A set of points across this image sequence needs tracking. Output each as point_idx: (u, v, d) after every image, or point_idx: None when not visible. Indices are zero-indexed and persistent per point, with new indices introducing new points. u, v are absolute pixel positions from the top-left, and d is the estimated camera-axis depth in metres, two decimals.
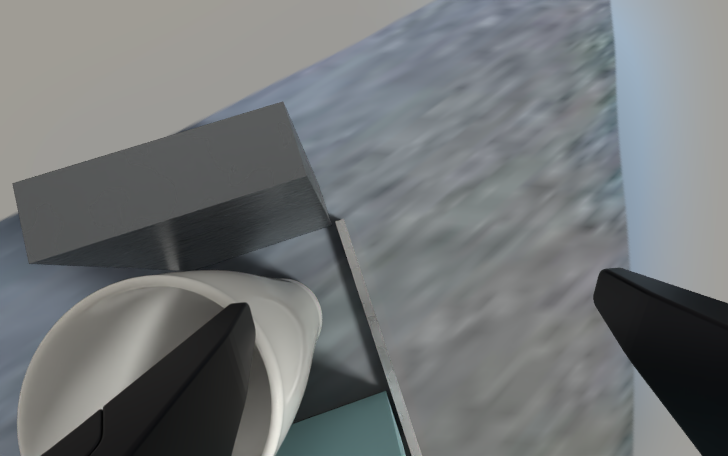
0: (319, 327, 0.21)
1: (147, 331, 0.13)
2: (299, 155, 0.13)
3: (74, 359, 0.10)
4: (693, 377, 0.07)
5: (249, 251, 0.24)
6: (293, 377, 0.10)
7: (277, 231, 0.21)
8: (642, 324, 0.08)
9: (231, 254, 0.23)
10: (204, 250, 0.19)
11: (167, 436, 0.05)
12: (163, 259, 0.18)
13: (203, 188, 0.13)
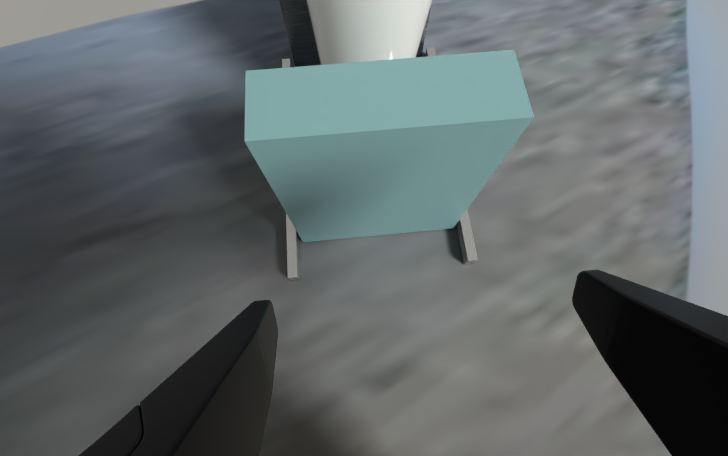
0: None
1: None
2: None
3: None
4: (665, 379, 0.07)
5: None
6: None
7: None
8: (617, 326, 0.08)
9: None
10: None
11: (205, 432, 0.05)
12: None
13: None
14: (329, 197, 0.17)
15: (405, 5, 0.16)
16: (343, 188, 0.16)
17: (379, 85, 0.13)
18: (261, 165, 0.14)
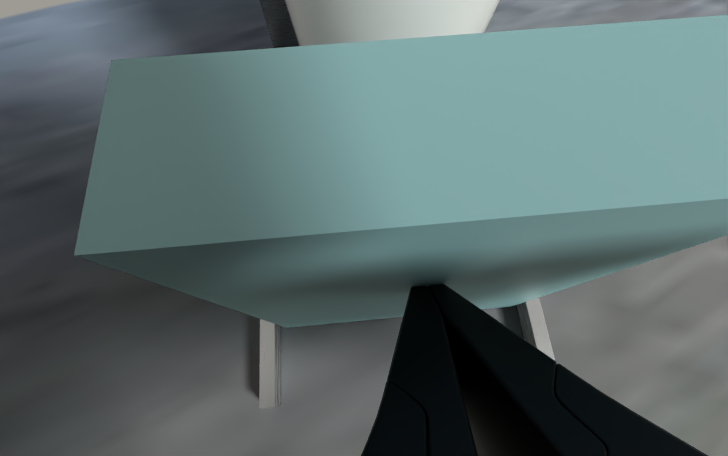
0: None
1: None
2: None
3: None
4: None
5: None
6: None
7: None
8: None
9: None
10: None
11: None
12: None
13: None
14: (324, 300, 0.09)
15: None
16: (348, 292, 0.08)
17: (444, 98, 0.05)
18: (160, 281, 0.06)
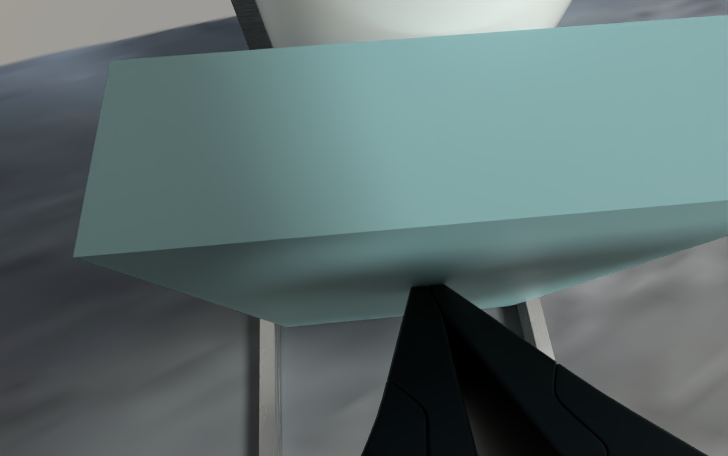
0: None
1: None
2: None
3: None
4: None
5: None
6: None
7: None
8: None
9: None
10: None
11: None
12: None
13: None
14: (323, 300, 0.09)
15: None
16: (348, 292, 0.08)
17: (445, 99, 0.05)
18: (159, 283, 0.06)
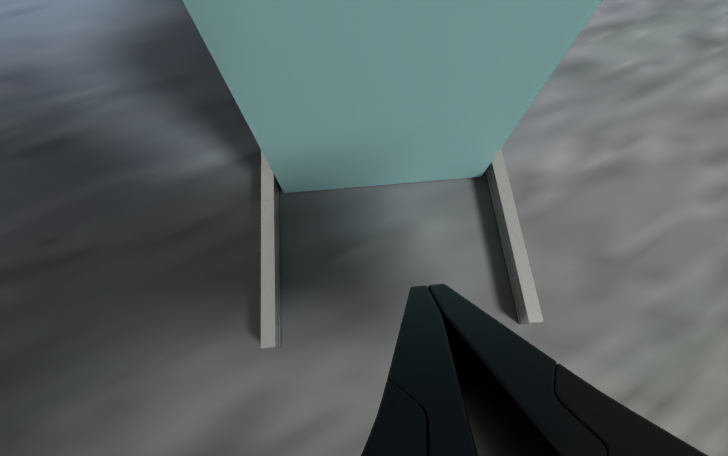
0: None
1: None
2: None
3: None
4: None
5: None
6: None
7: None
8: None
9: None
10: None
11: None
12: None
13: None
14: (313, 100, 0.11)
15: None
16: (332, 78, 0.11)
17: None
18: (189, 3, 0.08)
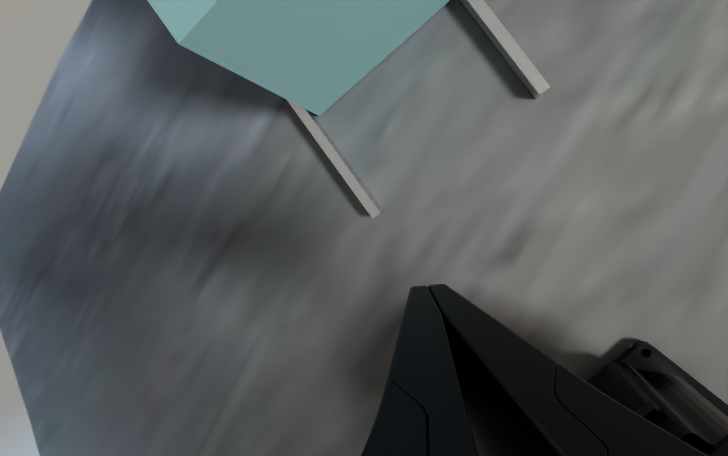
0: None
1: None
2: None
3: None
4: None
5: None
6: None
7: None
8: None
9: None
10: None
11: None
12: None
13: None
14: (304, 50, 0.15)
15: None
16: (307, 30, 0.14)
17: None
18: (216, 60, 0.13)
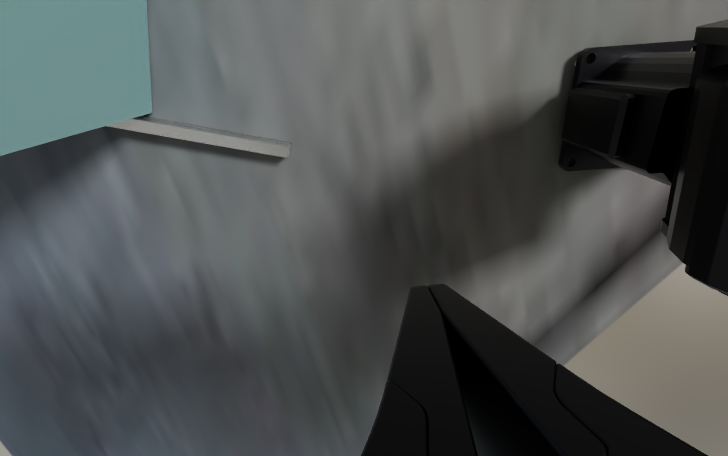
0: None
1: None
2: None
3: None
4: None
5: None
6: None
7: None
8: None
9: None
10: None
11: None
12: None
13: None
14: (48, 65, 0.12)
15: None
16: (22, 40, 0.10)
17: None
18: None
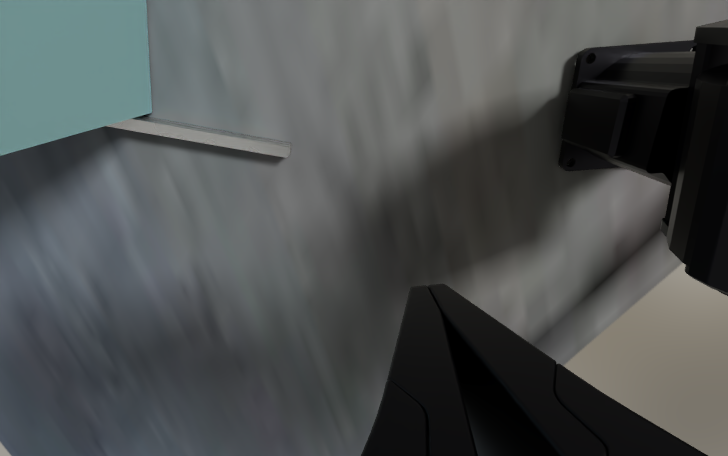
0: None
1: None
2: None
3: None
4: None
5: None
6: None
7: None
8: None
9: None
10: None
11: None
12: None
13: None
14: (48, 65, 0.12)
15: None
16: (22, 40, 0.10)
17: None
18: None
